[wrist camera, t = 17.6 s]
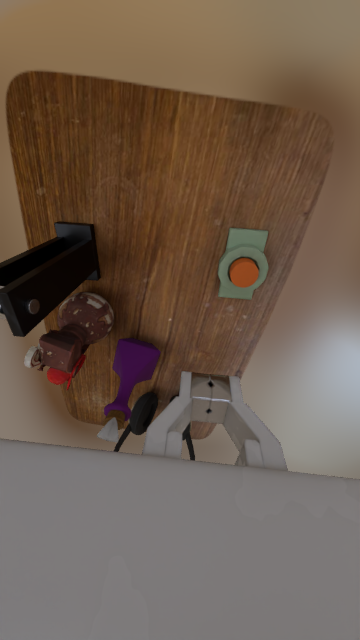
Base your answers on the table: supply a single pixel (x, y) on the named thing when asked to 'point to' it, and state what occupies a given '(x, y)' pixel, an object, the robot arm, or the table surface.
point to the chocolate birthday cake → (72, 336)
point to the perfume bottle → (128, 381)
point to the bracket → (47, 275)
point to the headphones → (149, 420)
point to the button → (243, 272)
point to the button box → (242, 246)
